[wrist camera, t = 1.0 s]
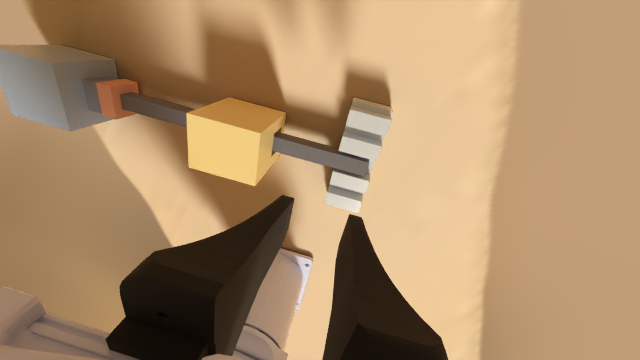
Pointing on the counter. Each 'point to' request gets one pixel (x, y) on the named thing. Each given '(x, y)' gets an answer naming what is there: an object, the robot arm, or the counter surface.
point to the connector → (54, 84)
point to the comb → (359, 152)
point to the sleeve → (233, 139)
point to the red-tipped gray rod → (126, 101)
